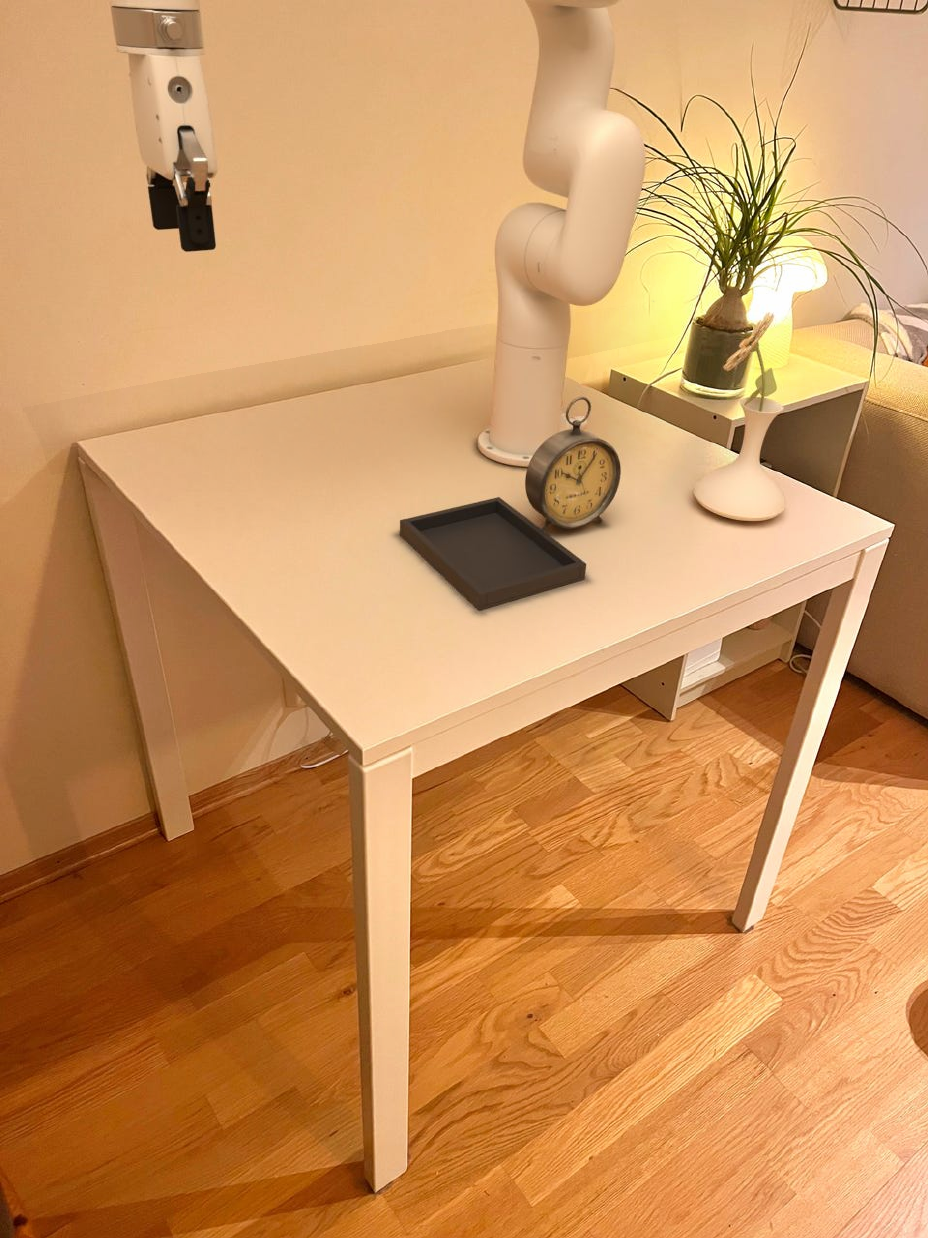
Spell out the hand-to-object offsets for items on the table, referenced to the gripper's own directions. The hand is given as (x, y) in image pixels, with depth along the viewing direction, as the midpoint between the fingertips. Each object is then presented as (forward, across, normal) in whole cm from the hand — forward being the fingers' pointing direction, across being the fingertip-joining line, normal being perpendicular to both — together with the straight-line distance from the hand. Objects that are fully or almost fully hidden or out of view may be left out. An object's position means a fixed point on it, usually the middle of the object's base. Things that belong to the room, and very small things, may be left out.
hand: (183, 238), depth 90 cm
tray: (+31, -22, -24) cm, 45 cm away
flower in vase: (+31, -26, -58) cm, 71 cm away
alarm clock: (+31, -20, -36) cm, 52 cm away
